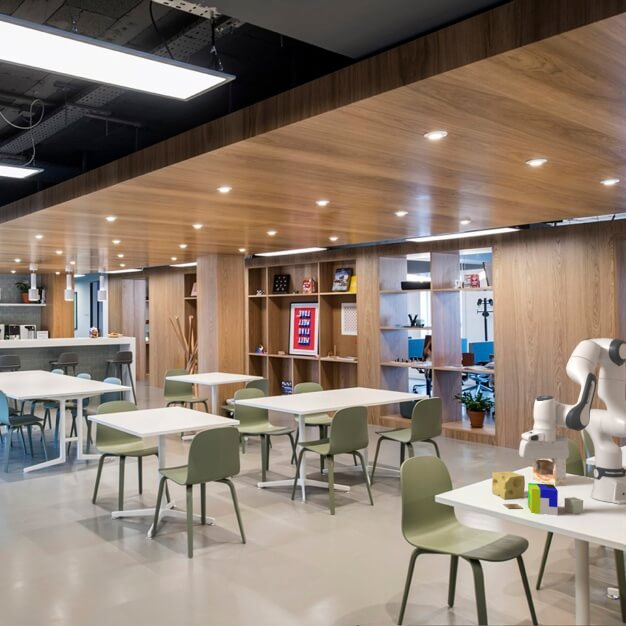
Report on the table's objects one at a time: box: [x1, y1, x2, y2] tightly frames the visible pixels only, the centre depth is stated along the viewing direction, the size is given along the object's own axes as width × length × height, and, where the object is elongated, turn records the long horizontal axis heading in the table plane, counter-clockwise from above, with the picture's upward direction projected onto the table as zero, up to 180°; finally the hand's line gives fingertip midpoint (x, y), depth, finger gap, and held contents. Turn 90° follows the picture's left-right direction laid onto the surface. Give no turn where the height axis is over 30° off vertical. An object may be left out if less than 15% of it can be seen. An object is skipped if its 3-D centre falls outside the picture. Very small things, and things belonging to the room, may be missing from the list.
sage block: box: [563, 496, 584, 514], centre depth 259 cm, size 5×5×5 cm
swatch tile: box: [502, 503, 524, 510], centre depth 263 cm, size 6×6×1 cm
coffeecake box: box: [532, 459, 567, 487], centre depth 307 cm, size 15×7×20 cm, turn 23°
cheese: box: [491, 470, 526, 500], centre depth 281 cm, size 10×11×10 cm
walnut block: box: [536, 460, 553, 475], centre depth 258 cm, size 5×5×5 cm
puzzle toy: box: [527, 482, 559, 516], centre depth 258 cm, size 10×10×10 cm
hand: (544, 469), depth 258 cm, fingers closed on walnut block, 5 cm apart
